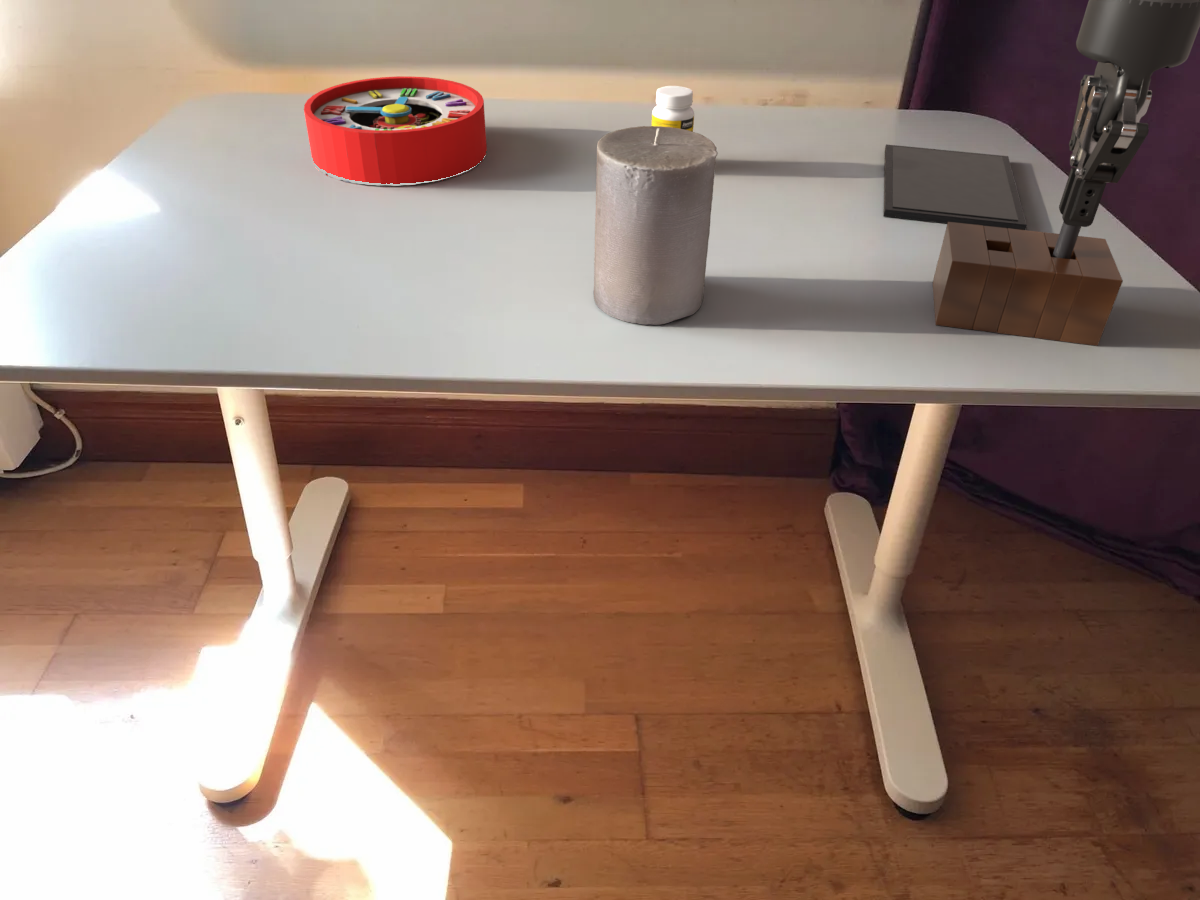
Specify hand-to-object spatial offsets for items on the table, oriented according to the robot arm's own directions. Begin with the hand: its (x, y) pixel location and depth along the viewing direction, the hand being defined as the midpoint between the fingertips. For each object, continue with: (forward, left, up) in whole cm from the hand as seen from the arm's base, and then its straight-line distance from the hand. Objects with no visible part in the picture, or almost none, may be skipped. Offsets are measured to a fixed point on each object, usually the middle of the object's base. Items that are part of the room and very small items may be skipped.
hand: (1074, 218), depth 77 cm
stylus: (0, 0, -9) cm, 9 cm away
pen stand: (+3, 0, -9) cm, 9 cm away
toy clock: (+69, -21, -9) cm, 72 cm away
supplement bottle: (+38, -26, -9) cm, 47 cm away
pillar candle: (+34, +6, -9) cm, 35 cm away
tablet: (+7, -28, -9) cm, 30 cm away
